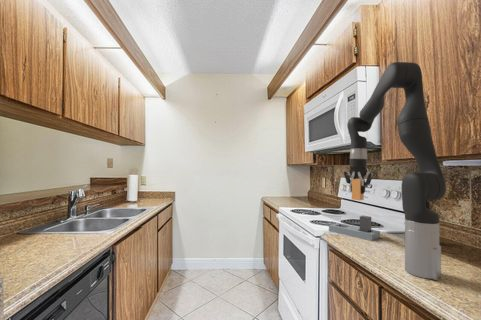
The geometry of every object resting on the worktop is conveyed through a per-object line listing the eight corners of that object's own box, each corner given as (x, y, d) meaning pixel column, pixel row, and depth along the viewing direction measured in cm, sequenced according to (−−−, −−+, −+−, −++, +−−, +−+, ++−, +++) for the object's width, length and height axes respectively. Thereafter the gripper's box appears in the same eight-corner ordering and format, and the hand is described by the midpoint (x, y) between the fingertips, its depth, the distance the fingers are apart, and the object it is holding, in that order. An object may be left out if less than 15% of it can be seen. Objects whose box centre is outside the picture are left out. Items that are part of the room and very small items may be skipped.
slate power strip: (380, 237, 122) (380, 217, 122) (371, 240, 116) (371, 219, 116) (338, 228, 139) (338, 210, 139) (328, 230, 132) (329, 212, 133)
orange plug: (363, 199, 120) (363, 179, 120) (359, 200, 117) (360, 179, 117) (355, 198, 123) (355, 178, 123) (351, 199, 120) (352, 179, 120)
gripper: (340, 157, 123) (340, 191, 123) (370, 158, 112) (369, 195, 112) (347, 158, 128) (347, 190, 128) (377, 158, 117) (376, 194, 117)
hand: (357, 192), depth 120 cm, fingers closed on orange plug, 4 cm apart
